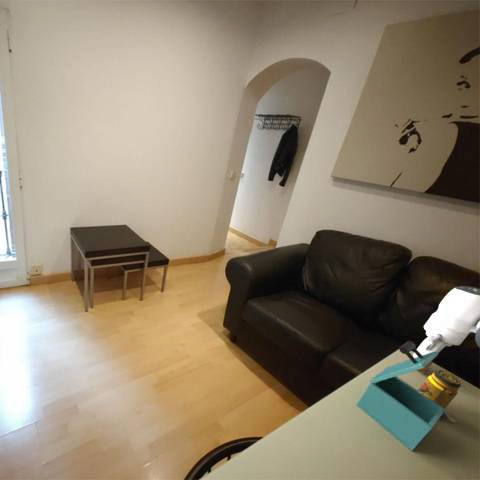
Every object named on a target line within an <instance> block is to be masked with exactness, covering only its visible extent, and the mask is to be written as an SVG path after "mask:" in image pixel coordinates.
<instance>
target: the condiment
mask: <svg viewBox="0 0 480 480" xmlns="http://www.w3.org/2000/svg"><path fill="white" fill-rule="evenodd" d="M461 387H462V383H461V381H460V380H459V379H458V378H457V377H456V376H455V375H453V374H451V373H450V372H448V371H445V370H444V369H443V370H442V369H435V370H434V372H433V373H432V374H430V375H429V376H427V378H425V381H424V382H423V383H422V384H421V385H420V386H419V388H418V390H417V391H419V392H420V393H422V394H423V395H425V396H426V397H428V398H429V399H431V400H432V401H434V402H435V403H436V404H438V405H439V406H441V407H442V408H444V409H445V411H444V413H443V414H442V415H441V417H440V418H439V419H438V420H441V421H446V422H452V423H455V424H456V423H457V422H456V421H455V420H454V419H453V418H452V417H451V416H450V415H449V414H448V413H447V412H446V408H447V407H448V406H449V405H450V403H451V402H452V401H453V400H454V399H455V398H456V397H457V395H458V391H459V389H460V388H461Z"/></svg>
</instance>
